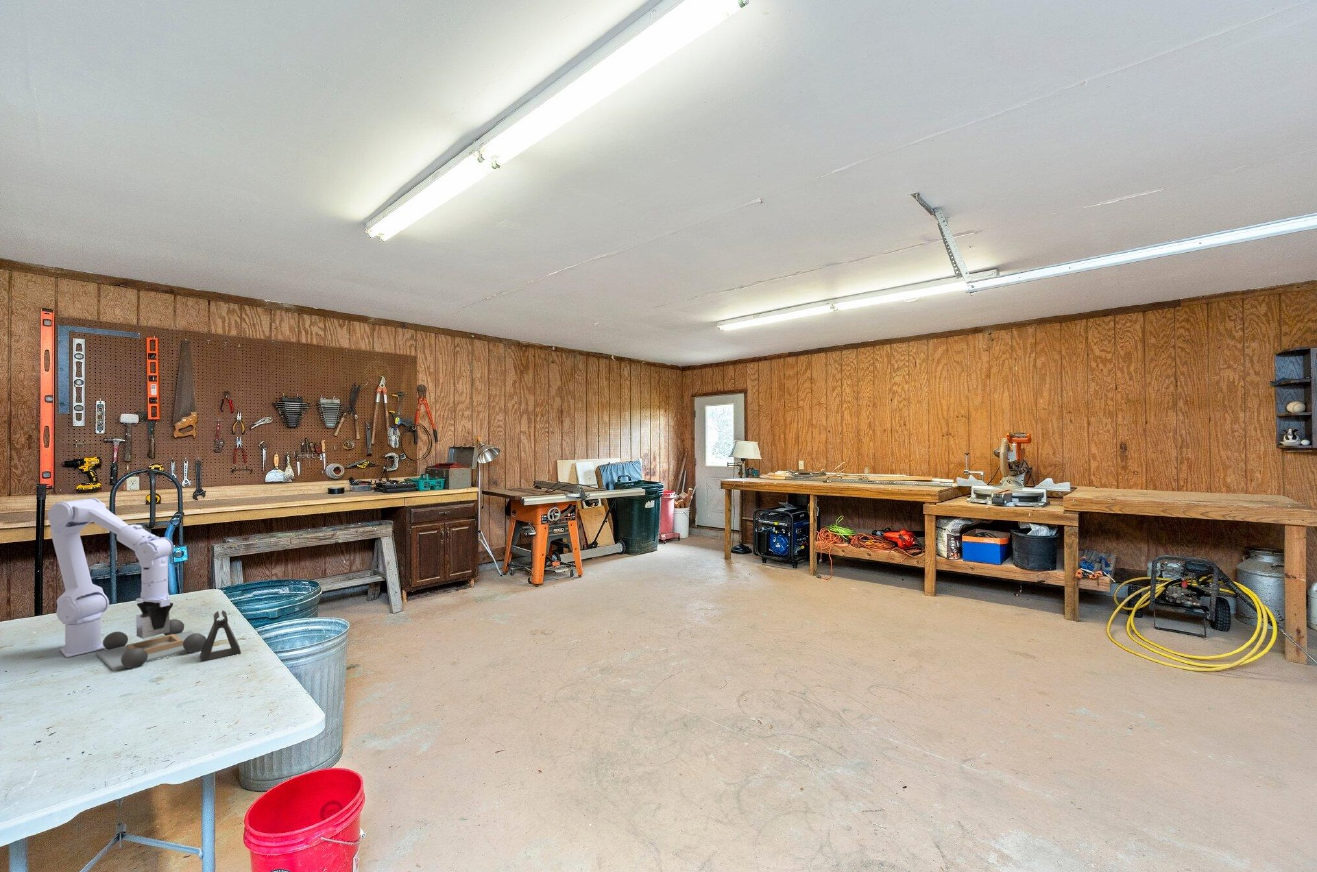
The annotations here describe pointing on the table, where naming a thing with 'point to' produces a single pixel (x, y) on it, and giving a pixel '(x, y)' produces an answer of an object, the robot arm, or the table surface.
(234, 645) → the phone stand
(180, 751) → the table surface
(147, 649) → the chassis board
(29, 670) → the table surface
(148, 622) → the block
